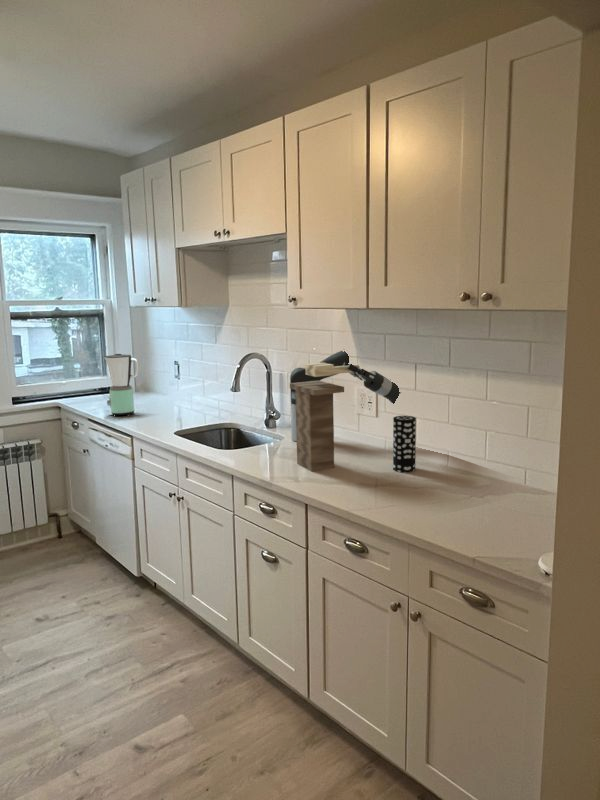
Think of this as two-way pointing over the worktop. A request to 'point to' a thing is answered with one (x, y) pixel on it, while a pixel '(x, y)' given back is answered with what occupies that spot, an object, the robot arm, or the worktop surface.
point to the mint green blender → (121, 383)
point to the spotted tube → (404, 443)
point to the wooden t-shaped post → (315, 423)
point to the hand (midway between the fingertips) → (346, 365)
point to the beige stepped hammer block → (325, 369)
